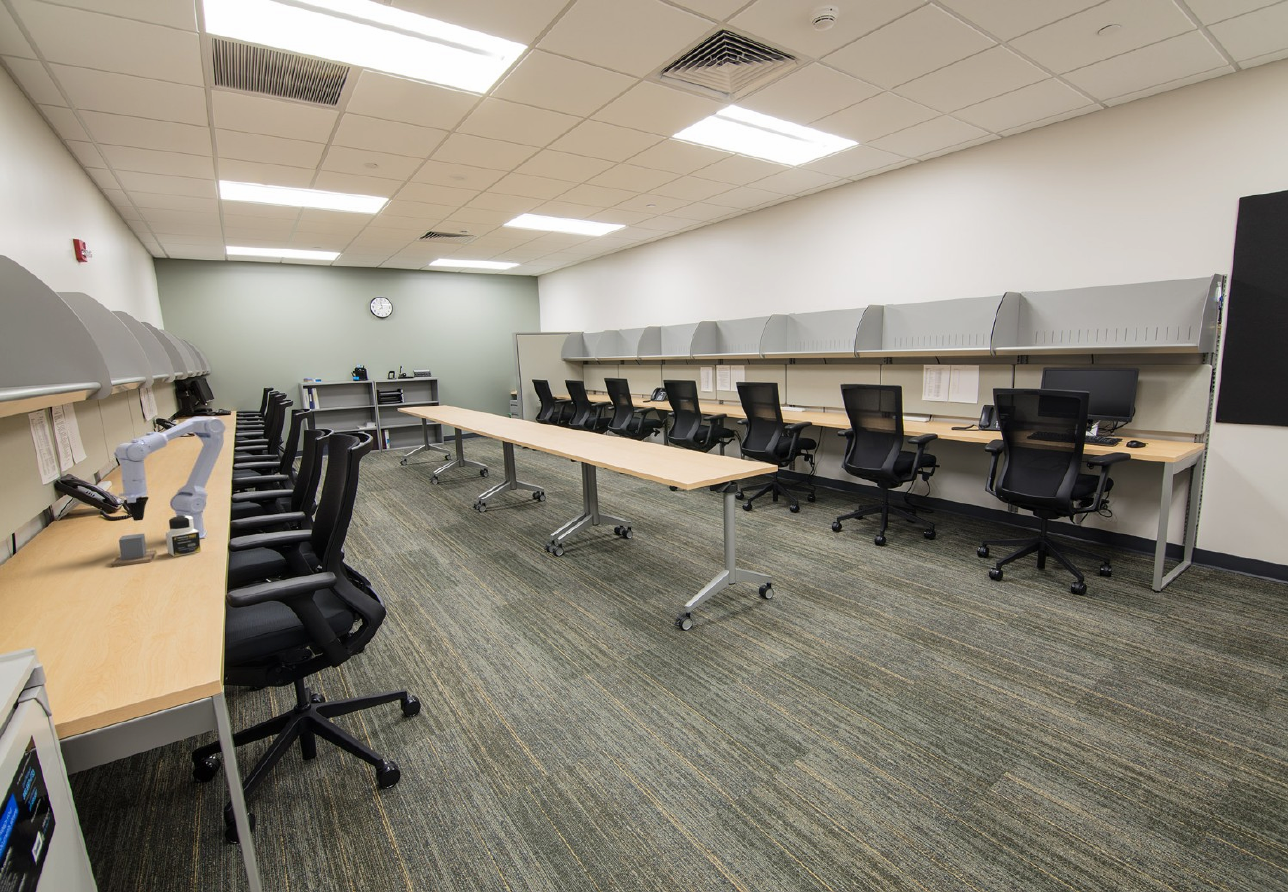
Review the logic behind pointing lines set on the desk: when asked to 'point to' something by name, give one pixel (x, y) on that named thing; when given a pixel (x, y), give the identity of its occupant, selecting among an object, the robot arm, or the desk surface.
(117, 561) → the stand
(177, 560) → the desk surface
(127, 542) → the grey block
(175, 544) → the medicine bottle
